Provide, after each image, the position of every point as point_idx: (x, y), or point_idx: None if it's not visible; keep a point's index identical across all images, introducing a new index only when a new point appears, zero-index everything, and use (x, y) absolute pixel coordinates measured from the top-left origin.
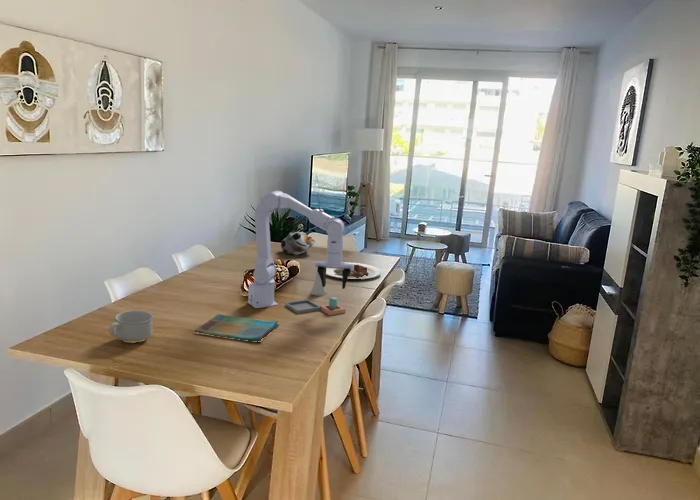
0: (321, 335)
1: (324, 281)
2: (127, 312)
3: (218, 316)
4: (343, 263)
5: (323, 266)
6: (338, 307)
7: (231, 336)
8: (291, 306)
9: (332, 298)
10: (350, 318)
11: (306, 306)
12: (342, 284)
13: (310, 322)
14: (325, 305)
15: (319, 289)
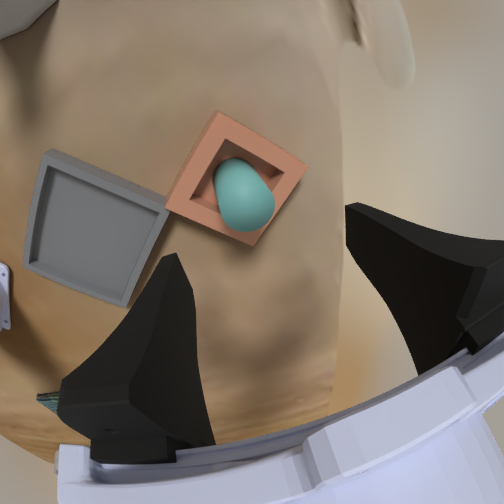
0: (296, 356)
1: (186, 313)
2: (56, 472)
3: (47, 404)
4: (502, 380)
5: (181, 472)
6: (260, 157)
7: None
8: (71, 286)
9: (242, 209)
10: (338, 204)
11: (91, 216)
12: (366, 275)
13: (220, 321)
14: (185, 184)
15: (18, 5)
